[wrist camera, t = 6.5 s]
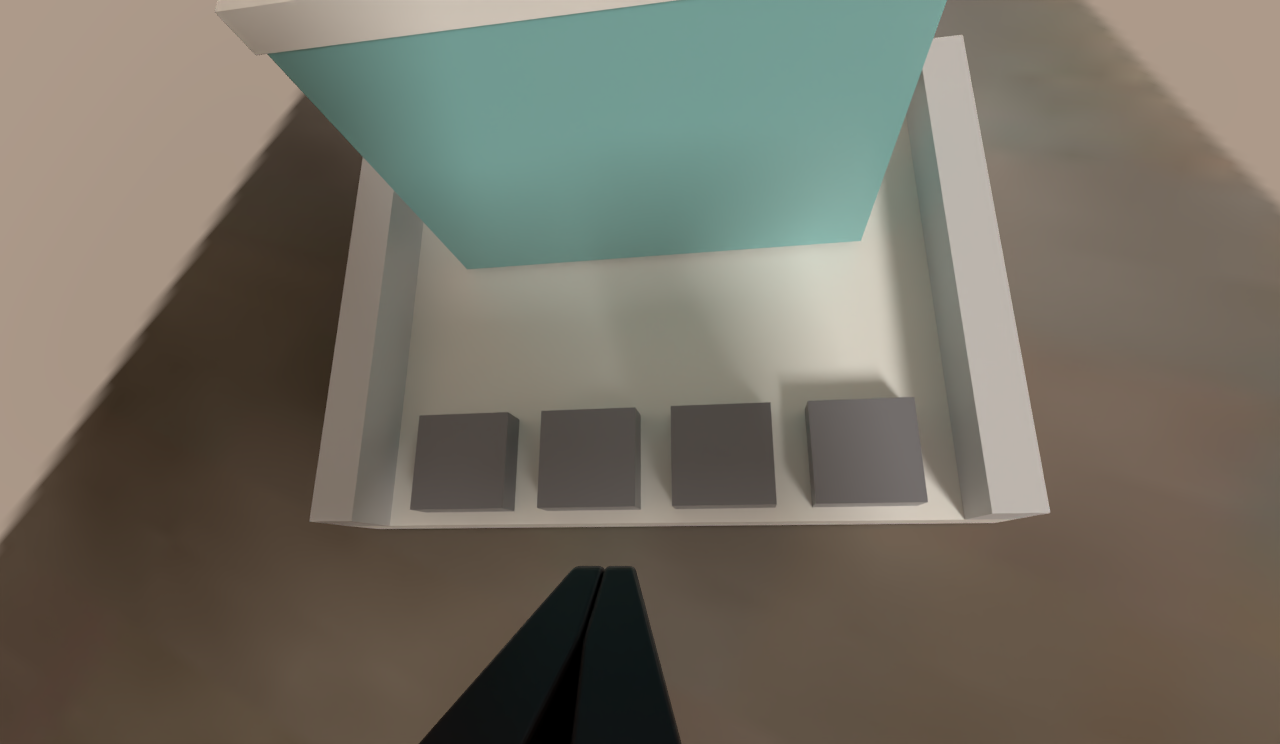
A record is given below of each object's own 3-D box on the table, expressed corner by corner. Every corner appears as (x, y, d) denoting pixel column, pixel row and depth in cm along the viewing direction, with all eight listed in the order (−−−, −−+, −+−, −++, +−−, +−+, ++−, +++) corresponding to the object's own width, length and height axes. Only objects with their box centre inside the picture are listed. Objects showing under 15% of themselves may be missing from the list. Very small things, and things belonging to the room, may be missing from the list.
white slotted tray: (994, 522, 14) (1050, 513, 12) (377, 529, 17) (309, 521, 14) (930, 114, 18) (962, 34, 15) (420, 164, 20) (371, 103, 17)
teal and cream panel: (865, 244, 15) (994, -100, 7) (463, 272, 17) (214, 12, 9) (852, 131, 16) (954, -280, 8) (472, 168, 18) (254, -153, 10)
